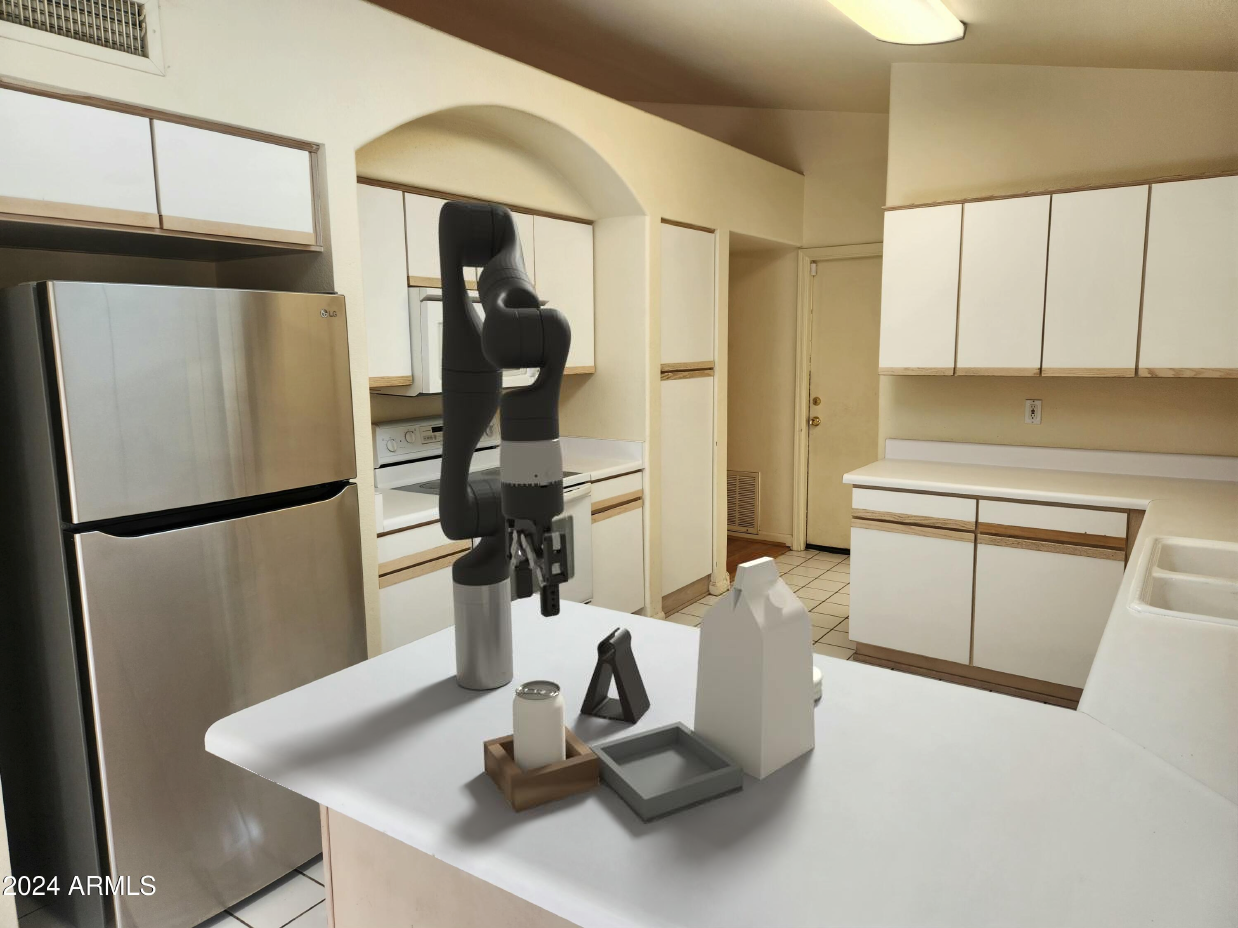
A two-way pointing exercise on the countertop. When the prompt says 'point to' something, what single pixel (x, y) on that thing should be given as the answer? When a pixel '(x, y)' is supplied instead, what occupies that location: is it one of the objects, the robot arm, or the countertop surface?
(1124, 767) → the countertop surface
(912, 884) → the countertop surface
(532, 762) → the can
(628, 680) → the phone stand
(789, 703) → the milk
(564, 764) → the socket block
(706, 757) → the tray
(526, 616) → the countertop surface
